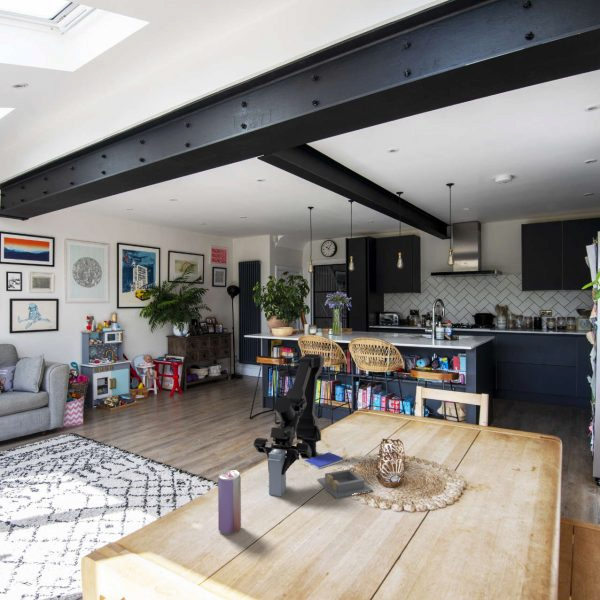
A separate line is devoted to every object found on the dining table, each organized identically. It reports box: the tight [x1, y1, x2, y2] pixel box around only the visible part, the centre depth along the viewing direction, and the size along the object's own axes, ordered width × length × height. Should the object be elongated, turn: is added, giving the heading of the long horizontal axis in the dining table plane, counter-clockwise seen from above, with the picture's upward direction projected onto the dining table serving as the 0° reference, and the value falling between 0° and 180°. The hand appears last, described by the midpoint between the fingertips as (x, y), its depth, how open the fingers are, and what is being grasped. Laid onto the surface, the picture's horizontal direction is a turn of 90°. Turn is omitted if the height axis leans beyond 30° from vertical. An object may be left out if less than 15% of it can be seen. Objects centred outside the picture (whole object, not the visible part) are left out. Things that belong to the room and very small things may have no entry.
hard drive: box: [303, 451, 344, 470], centre depth 163 cm, size 2×8×12 cm
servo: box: [266, 449, 287, 497], centre depth 138 cm, size 7×4×14 cm, turn 161°
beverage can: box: [217, 469, 242, 536], centre depth 116 cm, size 6×6×15 cm
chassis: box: [316, 468, 374, 500], centre depth 142 cm, size 14×13×3 cm
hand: (275, 473), depth 136 cm, fingers closed on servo, 4 cm apart
